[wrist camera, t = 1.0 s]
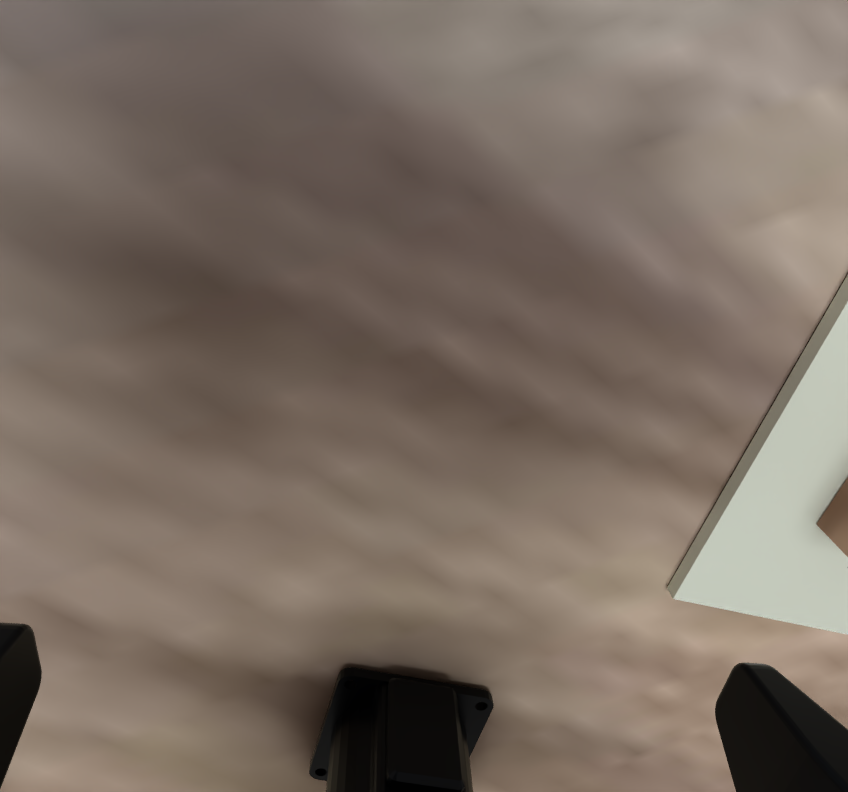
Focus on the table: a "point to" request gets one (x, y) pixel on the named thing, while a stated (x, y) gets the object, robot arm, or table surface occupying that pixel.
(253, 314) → the table surface
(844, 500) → the terracotta block
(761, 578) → the letter board
